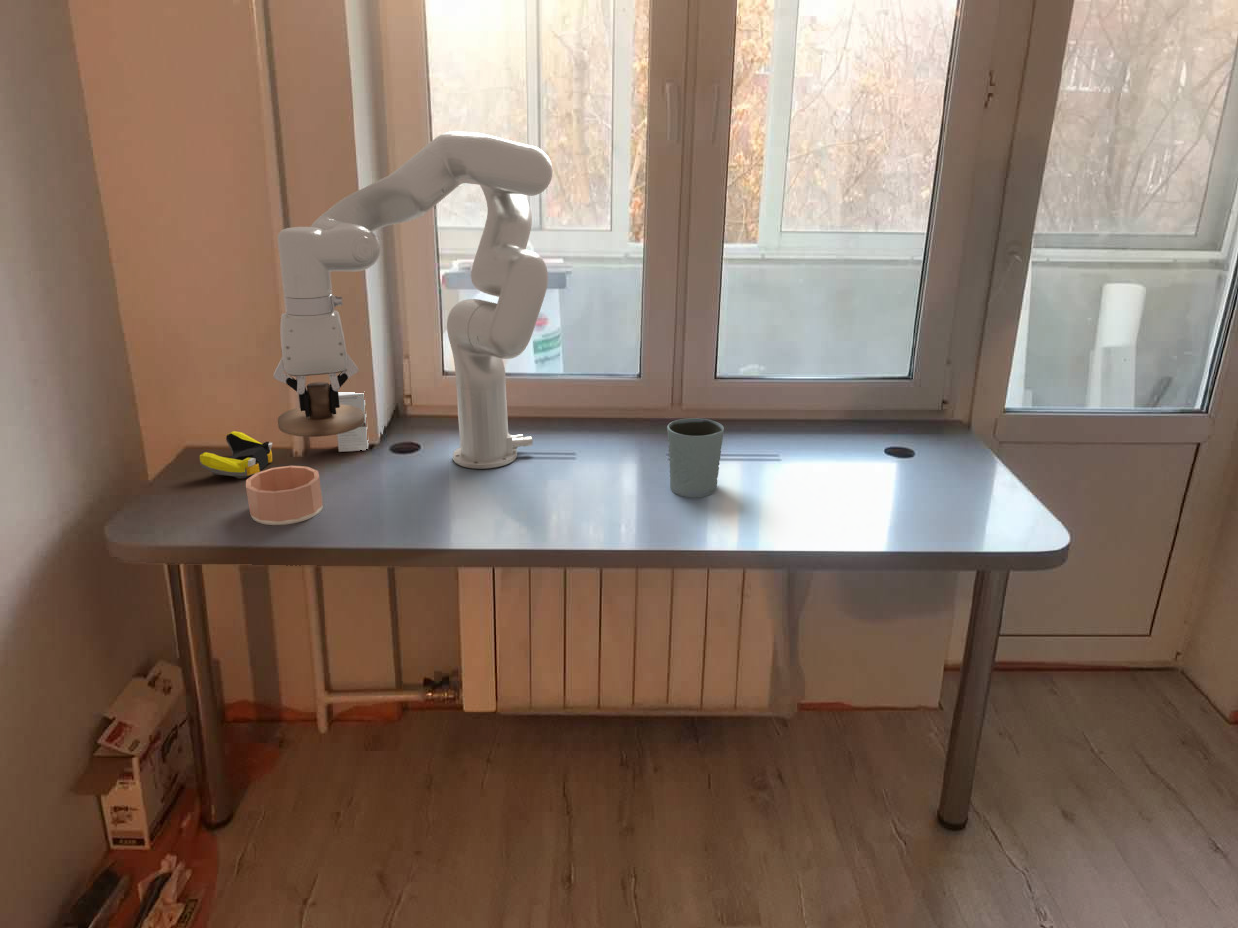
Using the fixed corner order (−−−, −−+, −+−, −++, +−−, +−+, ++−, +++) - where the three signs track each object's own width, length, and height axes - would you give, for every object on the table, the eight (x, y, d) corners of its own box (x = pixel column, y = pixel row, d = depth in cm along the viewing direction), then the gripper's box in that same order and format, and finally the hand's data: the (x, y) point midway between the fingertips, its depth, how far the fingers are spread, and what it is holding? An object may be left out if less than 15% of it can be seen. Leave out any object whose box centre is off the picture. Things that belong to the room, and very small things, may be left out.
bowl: (320, 493, 177) (316, 462, 174) (325, 519, 166) (320, 487, 164) (251, 502, 173) (246, 471, 171) (251, 529, 162) (245, 496, 160)
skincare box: (338, 452, 196) (331, 395, 191) (339, 445, 200) (332, 389, 195) (369, 450, 197) (363, 393, 192) (370, 442, 201) (364, 387, 197)
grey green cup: (659, 494, 175) (660, 432, 171) (675, 474, 184) (676, 414, 180) (713, 502, 172) (715, 438, 168) (727, 481, 181) (730, 420, 177)
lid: (358, 407, 173) (355, 370, 170) (369, 431, 161) (366, 392, 158) (276, 415, 168) (271, 377, 166) (280, 440, 156) (276, 400, 153)
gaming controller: (198, 483, 182) (250, 484, 181) (193, 455, 180) (245, 457, 179) (233, 454, 196) (282, 455, 195) (229, 428, 194) (278, 429, 193)
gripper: (358, 298, 163) (367, 402, 170) (254, 304, 158) (267, 411, 164) (364, 307, 157) (373, 415, 163) (255, 313, 151) (269, 425, 158)
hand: (320, 412), depth 164 cm, fingers closed on lid, 3 cm apart
